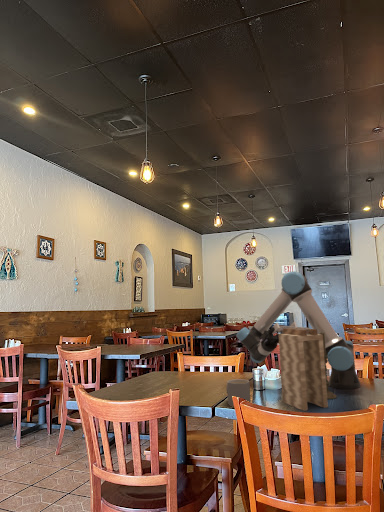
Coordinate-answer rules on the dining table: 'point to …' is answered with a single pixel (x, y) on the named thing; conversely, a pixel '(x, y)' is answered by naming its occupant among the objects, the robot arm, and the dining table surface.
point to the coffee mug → (238, 389)
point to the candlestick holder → (329, 394)
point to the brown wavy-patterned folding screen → (302, 368)
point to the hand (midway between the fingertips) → (286, 324)
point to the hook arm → (291, 328)
